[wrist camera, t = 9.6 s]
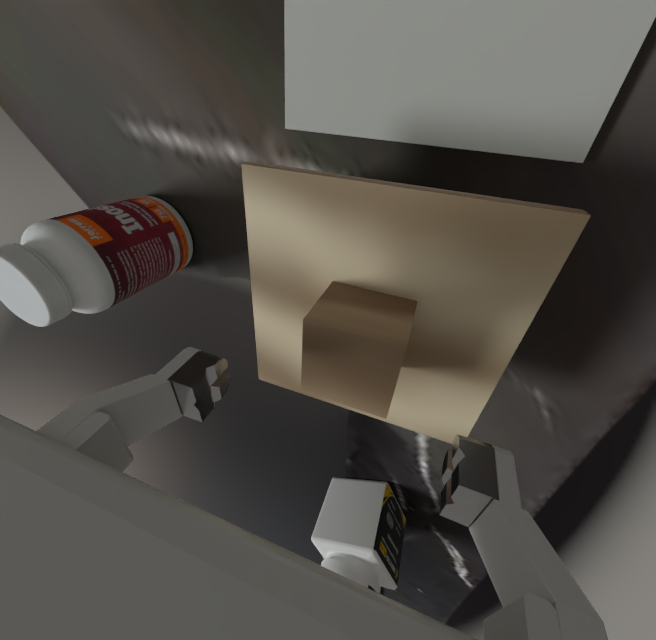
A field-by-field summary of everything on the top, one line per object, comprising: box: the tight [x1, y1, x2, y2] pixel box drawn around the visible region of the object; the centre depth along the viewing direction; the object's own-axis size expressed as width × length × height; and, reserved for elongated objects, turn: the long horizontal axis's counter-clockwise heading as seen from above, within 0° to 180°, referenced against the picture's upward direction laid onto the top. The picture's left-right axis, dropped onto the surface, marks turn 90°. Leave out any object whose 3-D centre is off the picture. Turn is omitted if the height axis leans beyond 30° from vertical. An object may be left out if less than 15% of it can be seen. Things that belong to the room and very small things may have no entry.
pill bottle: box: [0, 196, 193, 327], centre depth 21 cm, size 6×6×11 cm
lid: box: [241, 162, 591, 444], centre depth 14 cm, size 13×13×4 cm
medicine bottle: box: [311, 477, 406, 593], centre depth 32 cm, size 7×7×12 cm
